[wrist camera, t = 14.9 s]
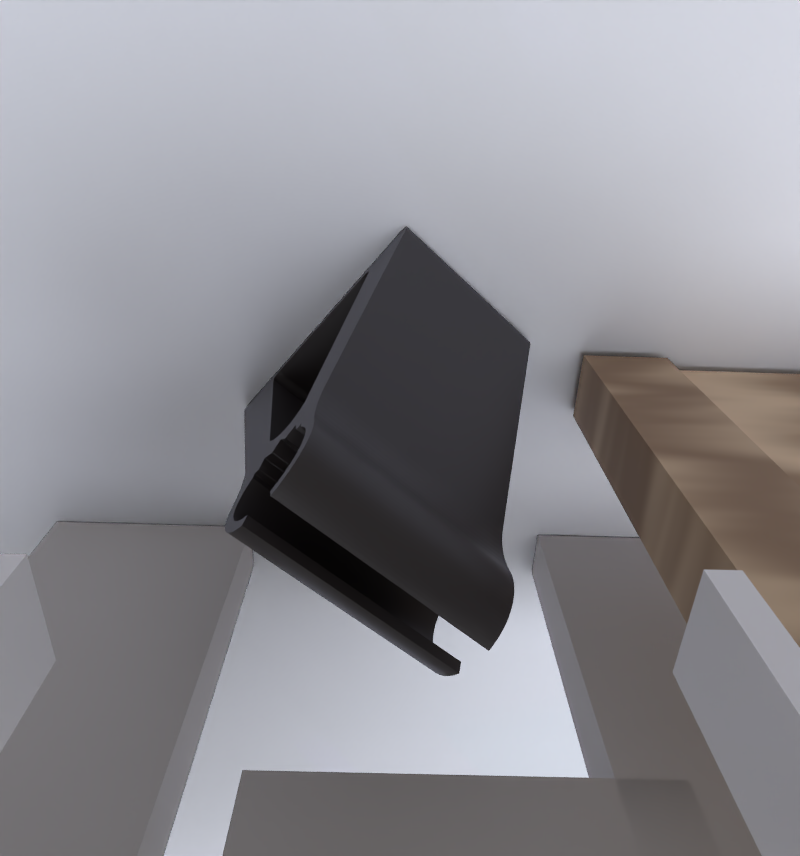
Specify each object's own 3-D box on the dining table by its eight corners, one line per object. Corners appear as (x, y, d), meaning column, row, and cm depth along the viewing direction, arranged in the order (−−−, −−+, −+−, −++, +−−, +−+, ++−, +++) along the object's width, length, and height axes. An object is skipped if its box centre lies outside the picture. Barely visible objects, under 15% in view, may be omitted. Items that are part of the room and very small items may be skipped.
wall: (66, 560, 28) (-202, 932, 16) (56, 521, 27) (-236, 883, 15) (806, 580, 29) (1122, 955, 16) (821, 542, 28) (1168, 909, 15)
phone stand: (407, 223, 22) (415, 346, 11) (529, 340, 24) (636, 540, 13) (245, 404, 25) (129, 638, 14) (364, 495, 27) (341, 763, 16)
